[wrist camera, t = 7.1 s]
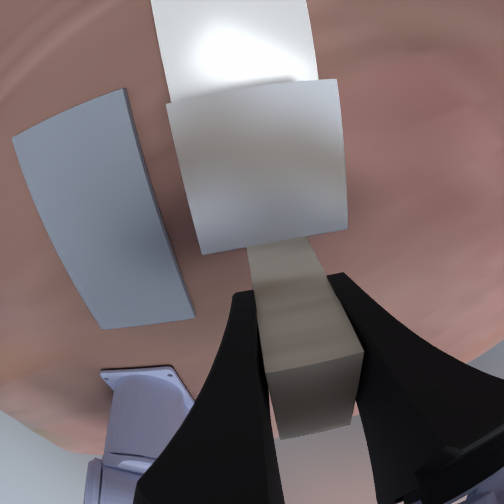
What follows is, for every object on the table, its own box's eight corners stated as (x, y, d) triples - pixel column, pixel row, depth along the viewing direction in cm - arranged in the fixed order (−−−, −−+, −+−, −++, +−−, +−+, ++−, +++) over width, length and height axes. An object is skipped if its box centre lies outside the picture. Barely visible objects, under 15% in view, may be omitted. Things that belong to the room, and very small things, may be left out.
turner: (341, 293, 15) (397, 409, 9) (223, 316, 15) (226, 447, 9) (329, 79, 10) (451, 74, 4) (169, 103, 10) (90, 115, 4)
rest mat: (195, 312, 22) (195, 318, 21) (103, 324, 22) (102, 329, 21) (125, 87, 13) (122, 88, 13) (16, 135, 13) (11, 138, 13)
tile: (323, 125, 14) (297, -39, 9) (182, 149, 14) (147, -17, 9) (311, 118, 16) (288, -27, 10) (187, 139, 16) (156, -7, 11)
